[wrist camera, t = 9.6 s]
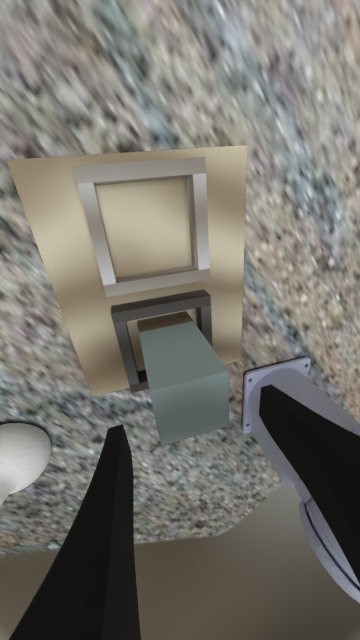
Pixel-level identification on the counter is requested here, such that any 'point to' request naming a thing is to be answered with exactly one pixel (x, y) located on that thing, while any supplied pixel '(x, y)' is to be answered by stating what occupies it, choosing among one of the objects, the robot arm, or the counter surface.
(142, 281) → the board
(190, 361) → the banded peg
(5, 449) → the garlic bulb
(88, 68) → the counter surface
